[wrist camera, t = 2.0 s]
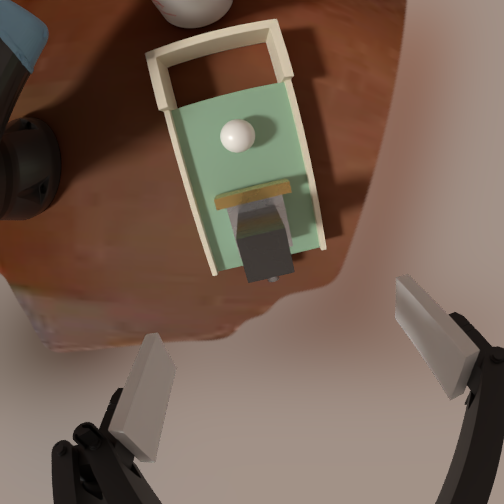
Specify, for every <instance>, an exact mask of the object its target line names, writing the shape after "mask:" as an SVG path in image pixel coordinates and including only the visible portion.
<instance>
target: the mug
mask: <svg viewBox="0 0 504 504" xmlns="http://www.w3.org/2000/svg"><path fill="white" fill-rule="evenodd" d="M151 1H152V2H153V3H154V5H155V6H156V7H157V9H158V10H159V12H160V13H161V14H162V16H163V17H164V18H165V19H166V20H167V21H168V22H169V23H171V24H173V25H175V26H178V27H182V28H198V27H203V26H207V25H209V24H212V23H214V22H216V21H217V20H219V19H220V18H221V17H223V16H224V15H225V14H226V13H227V12H228V10H229V9H230V7H231V5H232V2H233V0H151Z"/></svg>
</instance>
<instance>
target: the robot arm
mask: <svg viewBox="0 0 504 504" xmlns="http://www.w3.org/2000/svg"><path fill="white" fill-rule="evenodd" d="M48 34H49V33H48V28H47V26H46V25H45V24H44V23H43V22H42V21H41V20H40V19H38V18H37V17H36V16H34V15H33V14H31V13H30V12H28V11H27V10H25V9H24V8H22V7H21V6H19V5H17V4H16V3H14V2H12V1H11V0H0V220H26V219H30V218H32V217H34V216H36V215H38V214H40V213H42V212H43V211H44V210H45V209H46V208H47V207H48V206H49V205H50V203H51V202H52V200H53V198H54V196H55V194H56V191H57V189H58V185H59V181H60V174H61V157H60V150H59V146H58V142H57V140H56V137H55V135H54V133H53V131H52V130H51V128H50V127H49V126H48V125H47V124H46V123H45V122H43V121H42V120H40V119H38V118H32V117H29V118H18V119H15V120H12V121H10V122H9V123H8V120H9V118H10V115H11V113H12V111H13V108H14V106H15V104H16V102H17V100H18V97H19V95H20V93H21V91H22V89H23V87H24V85H25V83H26V81H27V79H28V77H29V76H30V74H32V73H33V70H34V68H33V67H34V65H35V63H36V61H37V59H38V57H39V56H40V54H41V52H42V50H43V48H44V47H45V45H46V43H47V40H48ZM395 319H396V320H397V321H398V323H399V324H400V326H401V327H402V328H403V330H404V331H405V333H406V334H407V335H408V337H409V338H410V340H411V341H412V343H413V344H414V345H415V347H416V348H417V350H418V351H419V353H420V354H421V356H422V357H423V359H424V360H425V362H426V363H427V365H428V366H429V368H430V369H431V371H432V372H433V374H434V375H435V377H436V378H437V380H438V382H439V383H440V385H441V386H442V388H443V390H444V391H445V393H446V394H447V396H448V398H449V399H450V400H452V399H454V398H456V397H457V396H459V395H461V394H463V393H464V391H465V388H466V386H468V387H469V388H470V390H471V391H470V393H469V395H468V397H467V400H466V402H465V405H466V404H467V407H466V412H465V416H464V420H463V424H462V429H461V432H460V436H459V440H458V443H457V446H456V450H455V453H454V456H453V459H452V462H451V465H450V468H449V471H448V474H447V476H446V479H445V482H444V484H443V487H442V490H441V492H440V494H439V496H438V499H437V501H436V503H435V504H487V502H488V500H489V496H490V493H491V490H492V487H493V483H494V480H495V476H496V472H497V468H498V464H499V460H500V455H501V451H502V445H503V440H504V348H501V347H492V346H491V345H490V344H489V343H488V342H487V341H486V339H485V338H484V337H483V336H482V335H481V334H480V333H479V332H478V331H477V330H476V329H475V328H474V327H473V326H472V324H470V323H469V321H468V320H467V319H466V318H465V317H464V316H462V315H460V314H458V313H456V312H454V313H451V314H449V315H448V314H447V313H446V312H445V311H444V310H443V309H442V308H441V307H440V305H439V304H438V303H436V301H435V300H434V299H433V298H432V297H431V296H430V295H429V294H428V293H427V292H426V291H425V290H424V289H423V288H422V287H421V286H420V285H419V284H418V283H417V282H416V281H415V280H414V279H413V278H412V277H411V276H409V275H408V274H406V275H403V276H400V277H397V278H396V312H395ZM175 372H176V366H175V364H174V362H173V361H172V359H171V357H170V355H169V353H168V351H167V350H166V348H165V346H164V344H163V342H162V340H161V338H160V336H159V334H158V333H153V334H146V336H145V338H144V340H143V342H142V345H141V347H140V349H139V352H138V354H137V357H136V359H135V362H134V364H133V366H132V369H131V371H130V374H129V376H128V378H127V381H126V383H125V386H124V388H118V389H117V391H116V392H115V393H114V394H113V395H112V398H111V400H110V403H109V404H110V405H108V408H107V411H106V413H105V415H104V418H103V420H102V423H101V426H100V428H99V429H98V428H96V426H95V425H94V424H92V423H90V422H85V423H82V424H80V425H79V426H78V427H77V428H76V429H75V430H74V433H73V440H74V441H75V442H76V443H77V444H78V445H75V446H73V445H72V444H71V443H70V442H68V441H66V440H61V441H59V442H57V443H56V444H55V446H54V447H53V449H52V486H53V500H54V504H162V503H161V501H160V500H159V499H158V497H157V496H156V494H155V493H154V492H153V490H152V489H151V487H150V486H149V484H148V483H147V481H146V480H145V478H144V477H143V475H142V473H141V472H140V470H139V469H138V467H137V465H136V464H135V463H134V462H133V460H134V456H135V457H136V458H137V459H139V460H140V461H141V462H151V463H155V460H156V456H157V450H158V446H159V441H160V437H161V432H162V428H163V423H164V419H165V414H166V410H167V406H168V401H169V397H170V393H171V389H172V385H173V380H174V376H175Z"/></svg>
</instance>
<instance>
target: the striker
mask: <svg viewBox="0 0 504 504" xmlns="http://www.w3.org/2000/svg"><path fill="white" fill-rule="evenodd" d="M287 193H292V191H291V186H290V182H289V180H287V179H286V178H285V179H281V180H276V181H272V182H268V183H263V184H259V185H255V186H251V187H247V188H243V189H239V190H235V191H231V192H227V193H223V194H219V195H216V196H215V198H214V202H215V206H216V209H217V210H221V209H225V208H227V212H228V215H229V219H230V223H231V226H232V230H233V233H234V237H235V240H236V244H237V248H238V251H239V255H240V258H241V259H242V262H243V266H244V269H245V273H246V276H247V280H248V283H250V282H255V281H259V280H263V279H268V281H269V282H274V281H277V280H278V279H279V276H280V275H285V274H289V273H293V272H294V267H293V262H292V257H291V252H290V247H292V246H293V242H292V238H291V233H290V228H289V223H288V219H287V214H286V209H285V205H284V200H283V196H282V195H283V194H287Z"/></svg>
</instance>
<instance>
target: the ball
mask: <svg viewBox="0 0 504 504" xmlns="http://www.w3.org/2000/svg"><path fill="white" fill-rule="evenodd" d="M220 139H221V142H222V144H223V146H224V147H225V148H226V149H227V150H229V151H231V152H235V153H241V152H244V151H246V150H248V149H249V148H250V147H251V146H252V145H253V143H254V141H255V131H254V128H253V127H252V125H251V124H250V123H248V122H247V121H245V120H242V119H234V120H231V121H229V122H227V123H226V124H225V125H224V126H223V128H222V130H221V133H220Z"/></svg>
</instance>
